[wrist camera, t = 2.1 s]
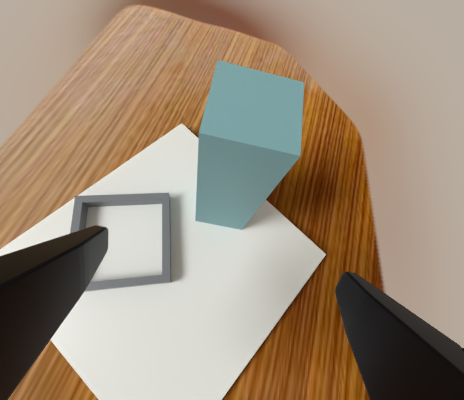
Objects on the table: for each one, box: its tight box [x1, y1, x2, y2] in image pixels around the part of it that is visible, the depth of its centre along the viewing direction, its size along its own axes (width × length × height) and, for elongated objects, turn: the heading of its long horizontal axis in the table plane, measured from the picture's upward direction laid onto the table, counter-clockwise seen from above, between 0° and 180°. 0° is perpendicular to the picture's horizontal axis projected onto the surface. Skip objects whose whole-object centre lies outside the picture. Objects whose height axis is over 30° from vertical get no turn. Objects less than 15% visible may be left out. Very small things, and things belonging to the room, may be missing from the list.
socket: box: [70, 193, 171, 292], centre depth 19 cm, size 8×8×1 cm
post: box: [195, 60, 304, 230], centre depth 17 cm, size 4×4×13 cm
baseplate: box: [0, 124, 326, 400], centre depth 21 cm, size 20×20×1 cm
